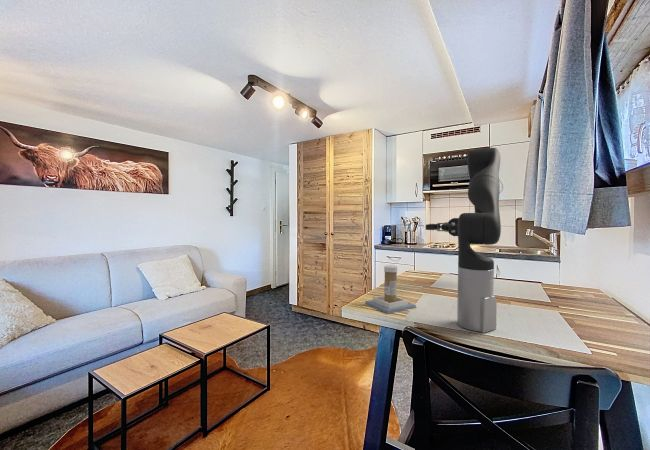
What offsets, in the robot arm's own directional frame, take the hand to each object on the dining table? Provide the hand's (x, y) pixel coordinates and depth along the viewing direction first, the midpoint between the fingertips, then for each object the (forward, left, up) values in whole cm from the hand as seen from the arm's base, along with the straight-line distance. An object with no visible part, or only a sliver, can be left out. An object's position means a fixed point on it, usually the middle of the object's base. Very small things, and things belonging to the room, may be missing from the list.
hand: (435, 227), depth 107 cm
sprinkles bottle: (+2, +21, -27) cm, 34 cm away
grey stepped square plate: (+2, +21, -28) cm, 35 cm away
